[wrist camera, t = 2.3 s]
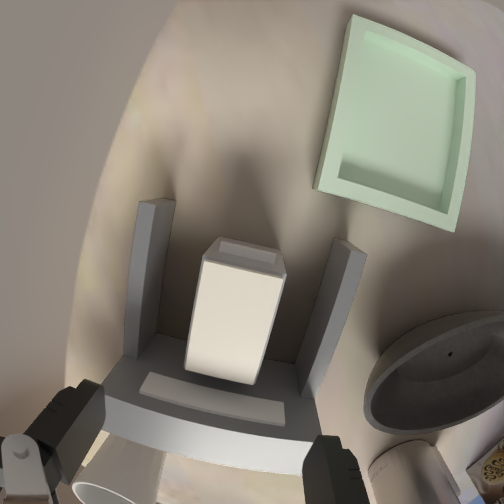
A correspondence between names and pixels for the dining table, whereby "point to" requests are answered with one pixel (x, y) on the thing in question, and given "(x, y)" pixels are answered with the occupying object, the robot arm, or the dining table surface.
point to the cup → (121, 474)
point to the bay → (217, 389)
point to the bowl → (438, 374)
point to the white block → (234, 309)
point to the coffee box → (490, 475)
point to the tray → (398, 126)
